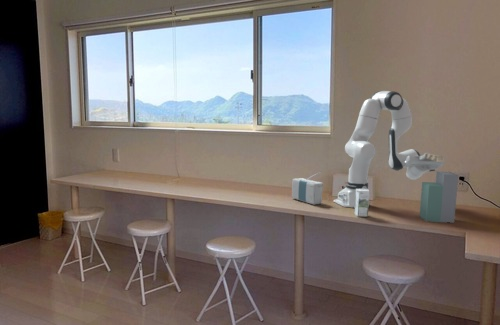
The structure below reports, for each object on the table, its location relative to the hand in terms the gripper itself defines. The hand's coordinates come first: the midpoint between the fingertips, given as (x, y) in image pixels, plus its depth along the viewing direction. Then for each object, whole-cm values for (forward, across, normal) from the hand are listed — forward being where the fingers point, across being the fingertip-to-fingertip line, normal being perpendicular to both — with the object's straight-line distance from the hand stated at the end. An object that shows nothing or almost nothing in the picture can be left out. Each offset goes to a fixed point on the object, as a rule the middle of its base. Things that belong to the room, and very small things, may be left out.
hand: (429, 155), depth 223 cm
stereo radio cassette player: (-32, -65, +20) cm, 75 cm away
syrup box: (-6, -38, +35) cm, 52 cm away
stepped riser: (-3, +1, +36) cm, 36 cm away
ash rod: (+4, 0, +4) cm, 5 cm away
